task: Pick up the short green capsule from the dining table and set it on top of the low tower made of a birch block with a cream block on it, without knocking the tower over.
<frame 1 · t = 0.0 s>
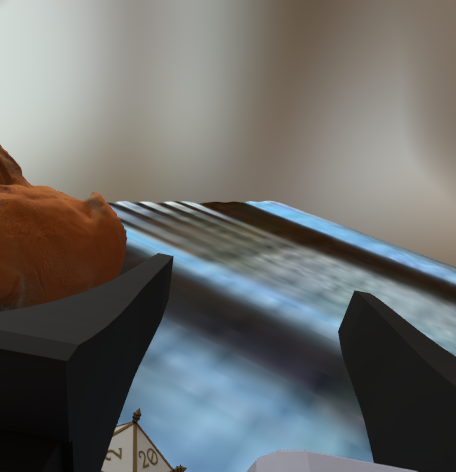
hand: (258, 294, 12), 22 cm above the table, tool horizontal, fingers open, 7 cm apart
pumpkin: (19, 317, 41), on the table
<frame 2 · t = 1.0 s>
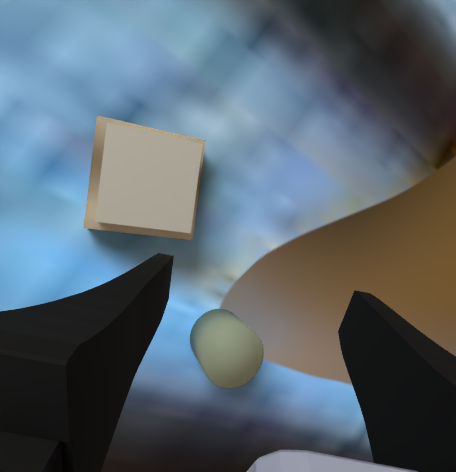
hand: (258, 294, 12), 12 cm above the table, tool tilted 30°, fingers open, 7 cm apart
green capsule: (216, 335, 26), on the table
birch base block: (144, 184, 23), on the table, touching cream block
cream block: (147, 184, 21), point 2 cm above the table, touching birch base block
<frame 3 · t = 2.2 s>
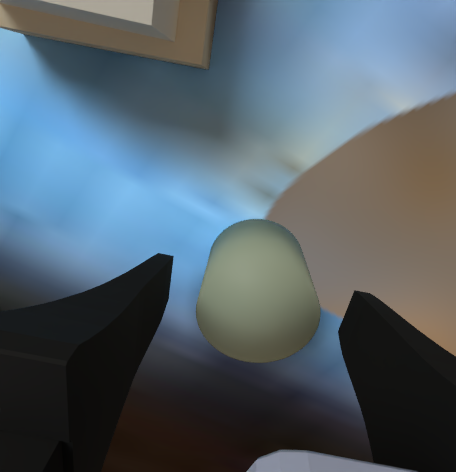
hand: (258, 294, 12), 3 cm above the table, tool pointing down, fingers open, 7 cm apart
green capsule: (255, 262, 15), on the table
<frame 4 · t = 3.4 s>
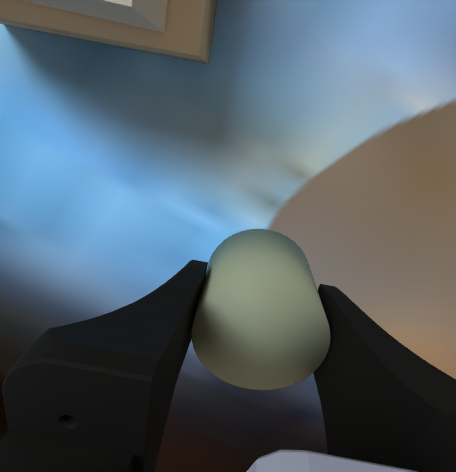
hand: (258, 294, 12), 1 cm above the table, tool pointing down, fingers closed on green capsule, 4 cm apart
green capsule: (257, 275, 14), on the table, touching gripper
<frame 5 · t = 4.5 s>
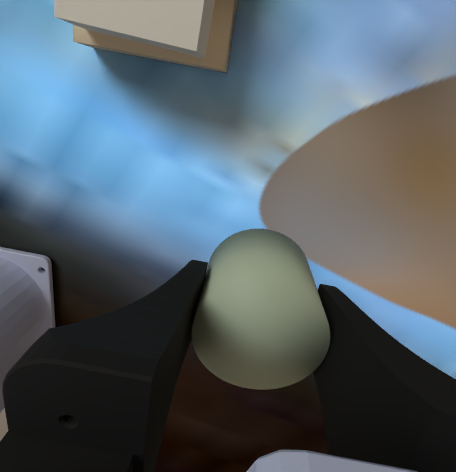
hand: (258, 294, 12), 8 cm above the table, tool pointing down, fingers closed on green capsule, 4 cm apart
green capsule: (257, 275, 14), point 6 cm above the table, touching gripper
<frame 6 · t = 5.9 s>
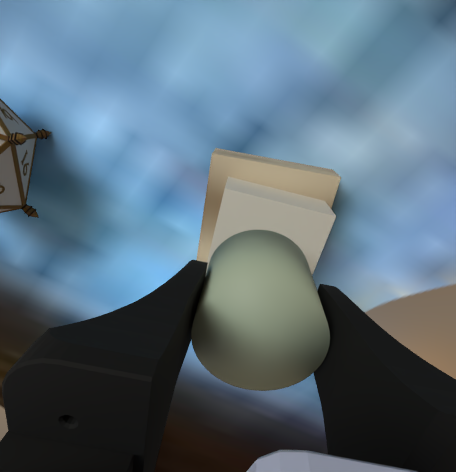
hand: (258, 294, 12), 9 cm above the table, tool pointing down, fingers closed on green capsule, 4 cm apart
game die: (8, 139, 20), on the table
green capsule: (257, 276, 14), point 7 cm above the table, touching gripper
birch base block: (261, 211, 21), on the table
cream block: (262, 233, 18), point 2 cm above the table
when the fingers open (7 cm above the table, at t = 7.0 s): green capsule drops 1 cm, resting on cream block.
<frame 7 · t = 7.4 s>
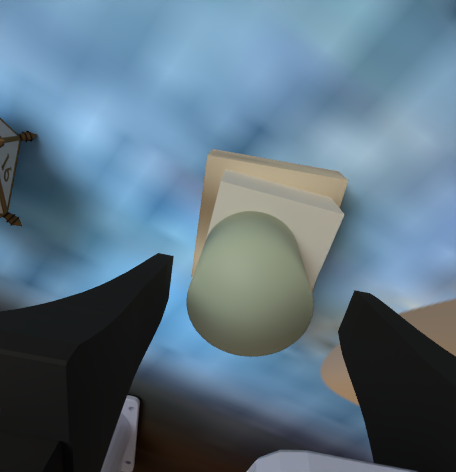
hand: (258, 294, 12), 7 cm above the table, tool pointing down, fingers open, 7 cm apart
green capsule: (250, 256, 15), point 5 cm above the table, touching cream block
birch base block: (262, 216, 19), on the table, touching cream block
cream block: (262, 232, 17), point 2 cm above the table, touching birch base block, green capsule
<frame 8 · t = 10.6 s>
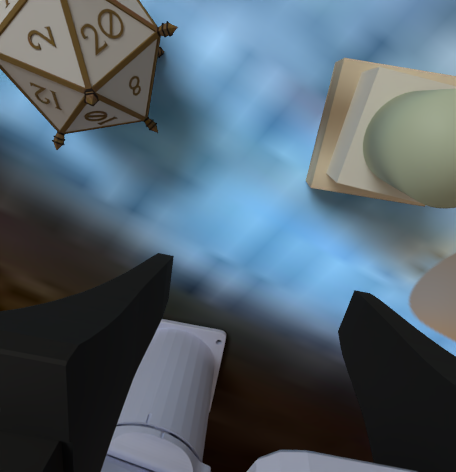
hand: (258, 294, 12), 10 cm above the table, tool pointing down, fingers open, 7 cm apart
game die: (117, 61, 19), on the table
green capsule: (409, 140, 16), point 4 cm above the table, touching cream block
birch base block: (371, 134, 20), on the table
cream block: (389, 137, 18), point 2 cm above the table, touching green capsule
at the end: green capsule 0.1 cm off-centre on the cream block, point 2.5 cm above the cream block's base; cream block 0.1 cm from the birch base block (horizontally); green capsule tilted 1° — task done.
